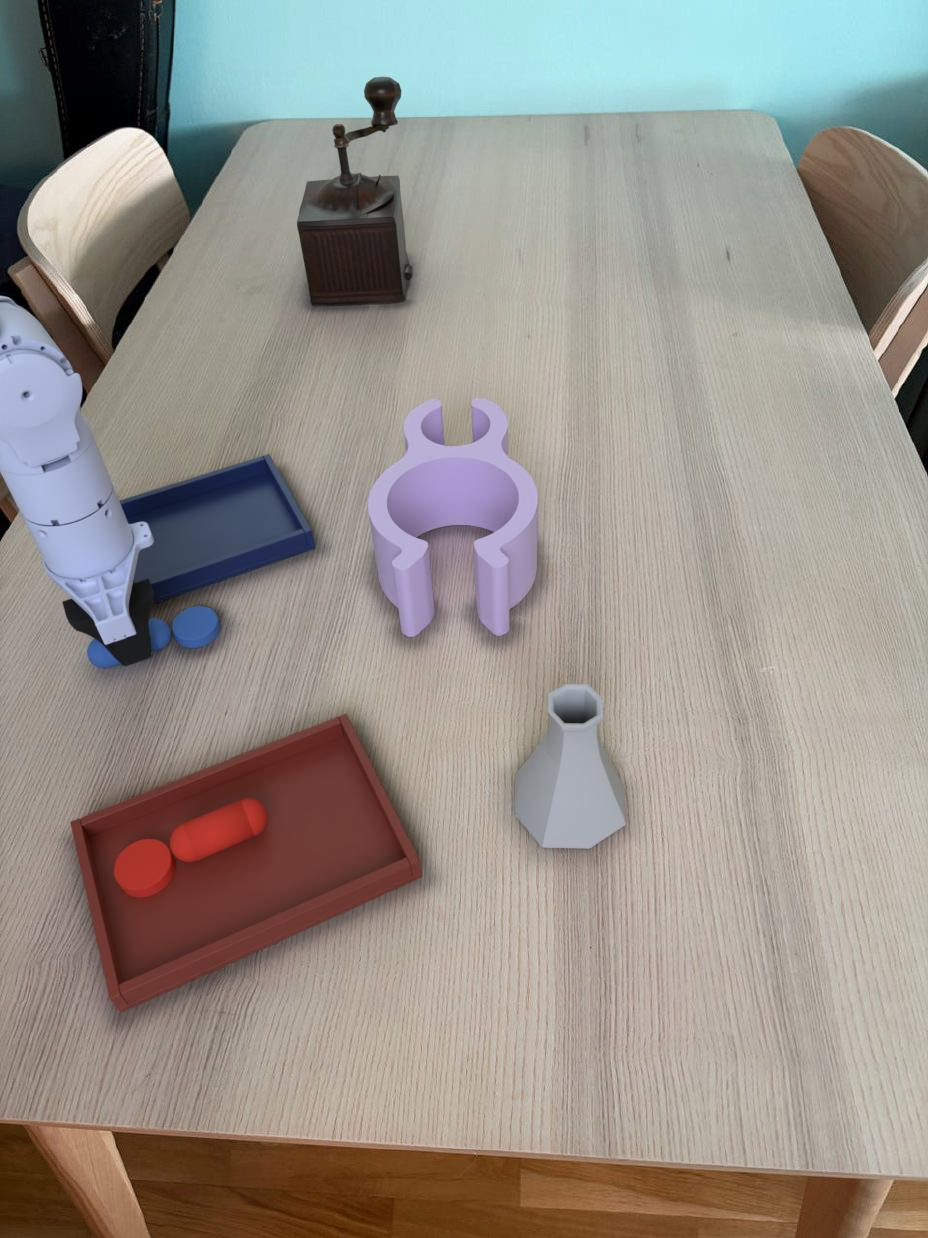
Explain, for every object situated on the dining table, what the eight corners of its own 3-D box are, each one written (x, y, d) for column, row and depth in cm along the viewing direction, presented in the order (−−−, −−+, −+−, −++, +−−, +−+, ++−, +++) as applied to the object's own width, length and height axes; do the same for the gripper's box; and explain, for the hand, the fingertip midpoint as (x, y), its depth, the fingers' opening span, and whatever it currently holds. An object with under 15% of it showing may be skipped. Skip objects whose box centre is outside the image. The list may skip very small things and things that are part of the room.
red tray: (120, 1013, 54) (109, 999, 52) (80, 838, 61) (69, 821, 60) (422, 877, 58) (420, 860, 57) (350, 730, 66) (346, 712, 64)
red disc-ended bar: (125, 907, 57) (112, 887, 56) (113, 860, 59) (101, 840, 58) (278, 842, 60) (271, 821, 58) (262, 799, 62) (254, 778, 60)
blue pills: (213, 609, 74) (206, 586, 73) (226, 638, 72) (218, 616, 70) (89, 652, 72) (78, 631, 70) (98, 684, 70) (87, 663, 68)
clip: (389, 466, 85) (381, 400, 80) (531, 463, 85) (532, 396, 80) (370, 637, 72) (359, 570, 67) (540, 635, 71) (541, 567, 66)
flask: (532, 866, 58) (533, 773, 51) (497, 770, 63) (494, 672, 56) (644, 835, 60) (662, 739, 52) (602, 742, 64) (612, 643, 57)
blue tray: (103, 621, 74) (94, 603, 73) (76, 534, 81) (68, 515, 80) (315, 548, 78) (312, 530, 77) (273, 471, 86) (269, 453, 84)
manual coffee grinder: (411, 302, 104) (395, 126, 91) (309, 307, 104) (278, 132, 91) (415, 235, 115) (401, 68, 102) (322, 239, 115) (296, 74, 102)
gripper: (156, 545, 57) (210, 689, 67) (107, 417, 66) (161, 561, 76) (34, 585, 55) (108, 727, 65) (1, 447, 64) (71, 591, 74)
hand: (130, 640), depth 71 cm, fingers open, 3 cm apart
